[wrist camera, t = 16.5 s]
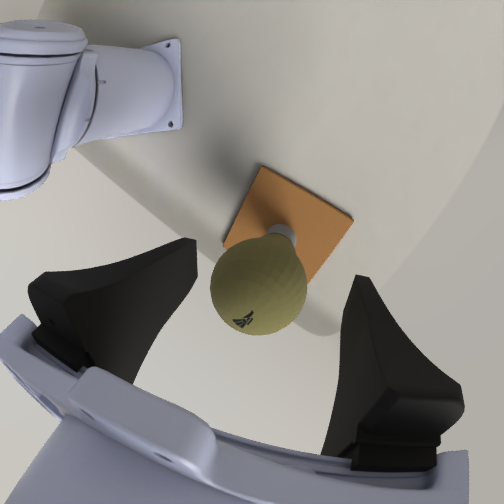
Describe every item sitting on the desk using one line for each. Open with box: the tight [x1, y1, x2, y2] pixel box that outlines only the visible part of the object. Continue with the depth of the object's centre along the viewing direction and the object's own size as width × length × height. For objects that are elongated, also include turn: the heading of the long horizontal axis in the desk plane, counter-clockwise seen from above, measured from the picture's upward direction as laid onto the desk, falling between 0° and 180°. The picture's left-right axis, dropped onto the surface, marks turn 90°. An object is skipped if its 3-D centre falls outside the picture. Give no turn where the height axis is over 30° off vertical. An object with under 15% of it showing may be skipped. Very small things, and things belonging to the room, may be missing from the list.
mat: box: [223, 166, 354, 284], centre depth 22 cm, size 8×8×1 cm
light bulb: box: [210, 224, 307, 335], centre depth 18 cm, size 6×6×10 cm
